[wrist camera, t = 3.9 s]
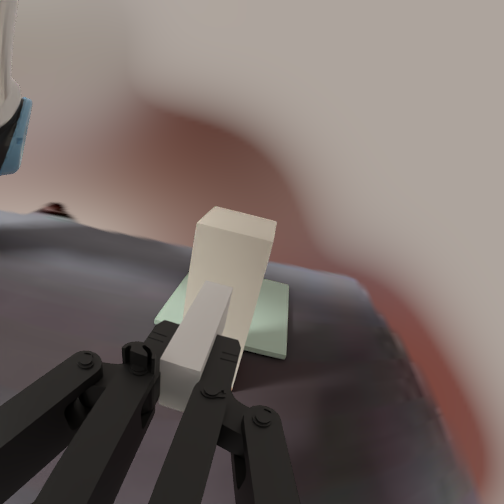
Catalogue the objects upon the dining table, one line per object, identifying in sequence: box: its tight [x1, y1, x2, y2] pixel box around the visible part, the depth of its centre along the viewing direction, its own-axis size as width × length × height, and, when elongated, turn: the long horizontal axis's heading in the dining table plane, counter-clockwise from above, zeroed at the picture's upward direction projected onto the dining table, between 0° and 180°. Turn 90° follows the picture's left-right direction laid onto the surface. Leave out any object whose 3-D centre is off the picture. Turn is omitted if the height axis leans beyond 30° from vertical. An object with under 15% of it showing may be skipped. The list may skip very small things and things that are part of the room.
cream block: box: [183, 206, 277, 391], centre depth 24 cm, size 5×5×14 cm
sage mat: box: [154, 273, 289, 360], centre depth 37 cm, size 14×16×1 cm
